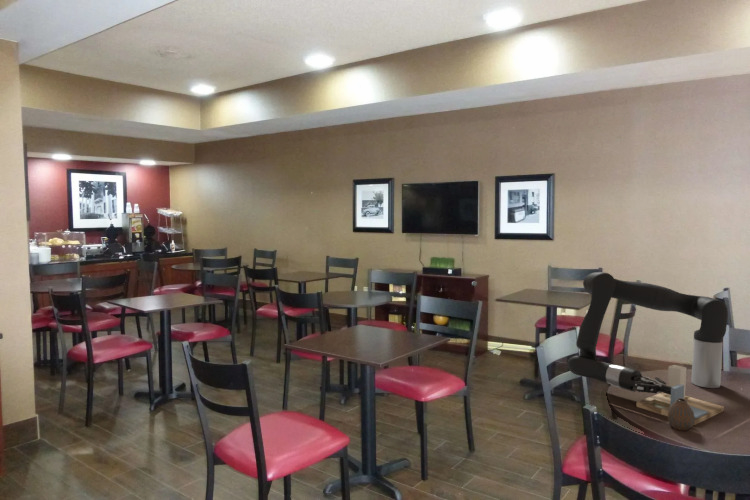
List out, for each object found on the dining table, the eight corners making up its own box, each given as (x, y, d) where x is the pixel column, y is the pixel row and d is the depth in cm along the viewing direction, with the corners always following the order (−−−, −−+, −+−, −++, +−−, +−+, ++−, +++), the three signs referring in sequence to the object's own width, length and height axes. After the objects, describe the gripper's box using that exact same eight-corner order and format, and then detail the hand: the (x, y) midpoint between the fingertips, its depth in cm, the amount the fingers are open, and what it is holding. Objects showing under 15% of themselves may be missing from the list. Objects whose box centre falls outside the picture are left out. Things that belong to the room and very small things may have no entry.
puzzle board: (666, 396, 182) (666, 390, 182) (723, 412, 167) (723, 406, 167) (636, 407, 170) (636, 401, 170) (694, 426, 156) (694, 420, 156)
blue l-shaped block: (680, 405, 167) (681, 383, 166) (707, 413, 160) (708, 390, 160) (668, 410, 162) (669, 388, 162) (695, 418, 156) (696, 395, 155)
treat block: (672, 398, 178) (674, 364, 177) (684, 401, 175) (686, 367, 174) (666, 400, 176) (668, 366, 175) (679, 404, 173) (680, 369, 172)
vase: (690, 425, 157) (692, 397, 156) (696, 434, 150) (698, 405, 150) (665, 421, 159) (666, 394, 159) (670, 430, 153) (671, 402, 152)
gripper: (613, 370, 175) (665, 384, 160) (634, 363, 182) (686, 377, 168) (612, 391, 175) (664, 407, 161) (633, 384, 183) (684, 399, 168)
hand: (675, 392), depth 164 cm, fingers closed
